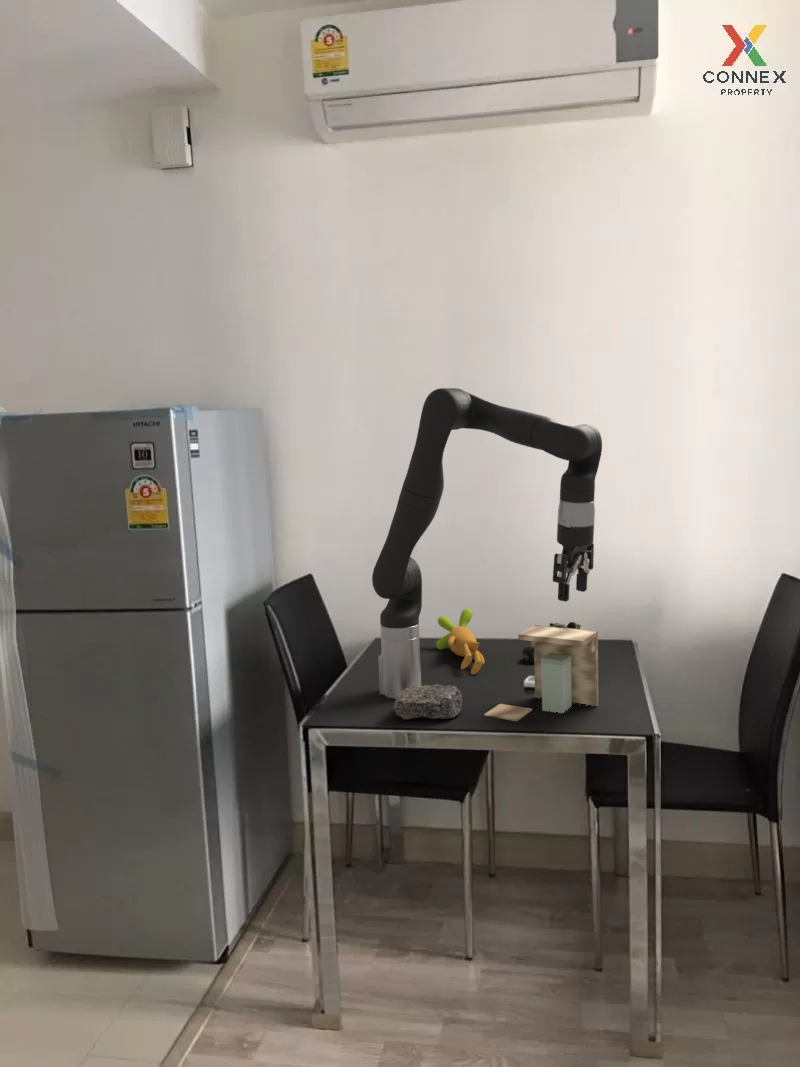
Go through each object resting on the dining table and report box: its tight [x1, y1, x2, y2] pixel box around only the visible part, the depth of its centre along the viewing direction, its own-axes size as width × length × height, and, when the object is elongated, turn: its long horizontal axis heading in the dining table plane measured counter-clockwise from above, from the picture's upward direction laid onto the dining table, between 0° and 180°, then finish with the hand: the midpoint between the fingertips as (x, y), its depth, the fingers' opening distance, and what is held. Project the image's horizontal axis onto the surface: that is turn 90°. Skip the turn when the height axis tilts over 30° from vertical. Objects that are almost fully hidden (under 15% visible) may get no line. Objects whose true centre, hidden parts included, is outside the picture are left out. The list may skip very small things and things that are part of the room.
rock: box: [392, 683, 463, 721], centre depth 203 cm, size 13×6×15 cm
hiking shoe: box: [521, 621, 582, 664], centre depth 247 cm, size 8×21×9 cm, turn 127°
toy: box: [435, 608, 486, 675], centre depth 247 cm, size 13×14×30 cm
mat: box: [483, 703, 533, 722], centre depth 202 cm, size 8×8×1 cm
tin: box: [541, 653, 573, 714], centre depth 203 cm, size 5×5×12 cm
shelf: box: [517, 624, 599, 708], centre depth 204 cm, size 15×10×17 cm, turn 58°
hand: (572, 595), depth 192 cm, fingers open, 8 cm apart
